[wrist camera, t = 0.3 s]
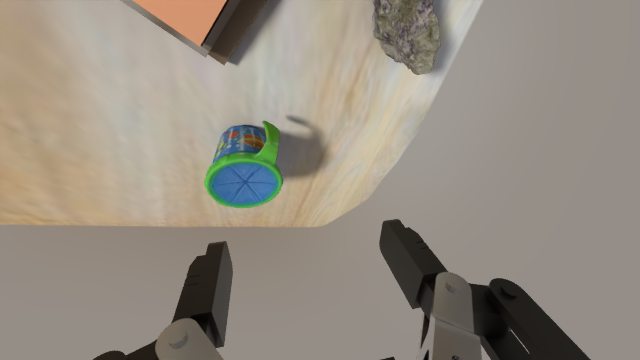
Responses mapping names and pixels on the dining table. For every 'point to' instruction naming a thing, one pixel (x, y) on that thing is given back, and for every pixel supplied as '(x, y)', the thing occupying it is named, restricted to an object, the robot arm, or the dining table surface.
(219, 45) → the button panel
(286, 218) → the dining table surface
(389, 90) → the dining table surface
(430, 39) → the mineral rock
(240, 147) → the snack cup
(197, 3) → the orange flat square block
